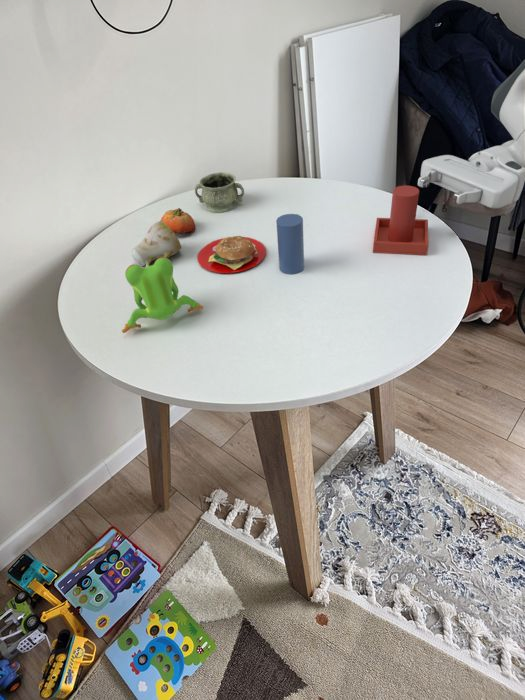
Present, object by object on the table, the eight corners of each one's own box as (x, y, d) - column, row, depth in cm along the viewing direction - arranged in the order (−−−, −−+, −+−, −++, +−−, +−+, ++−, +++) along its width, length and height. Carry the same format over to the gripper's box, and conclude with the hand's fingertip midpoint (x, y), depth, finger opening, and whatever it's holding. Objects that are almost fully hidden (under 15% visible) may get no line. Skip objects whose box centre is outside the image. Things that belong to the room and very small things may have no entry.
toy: (193, 291, 91) (183, 244, 84) (207, 318, 85) (197, 268, 78) (116, 314, 88) (100, 266, 81) (125, 343, 81) (108, 294, 75)
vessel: (248, 196, 119) (246, 171, 115) (242, 213, 113) (239, 187, 109) (201, 197, 121) (197, 172, 117) (192, 213, 115) (187, 188, 111)
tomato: (193, 233, 104) (168, 208, 102) (173, 253, 108) (148, 229, 106) (203, 221, 111) (179, 197, 109) (184, 240, 114) (161, 217, 112)
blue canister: (306, 261, 96) (305, 214, 89) (301, 275, 92) (300, 226, 85) (282, 260, 97) (279, 213, 90) (277, 273, 93) (273, 225, 87)
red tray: (426, 229, 101) (427, 219, 99) (426, 255, 94) (428, 244, 92) (376, 227, 103) (376, 217, 102) (372, 252, 96) (373, 242, 94)
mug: (125, 263, 101) (131, 214, 98) (170, 268, 106) (177, 222, 103) (135, 270, 95) (142, 218, 92) (182, 276, 100) (190, 227, 97)
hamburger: (279, 247, 100) (277, 220, 96) (239, 281, 92) (236, 254, 88) (224, 232, 107) (221, 207, 103) (183, 263, 98) (177, 237, 94)
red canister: (417, 238, 98) (424, 190, 91) (401, 247, 96) (407, 198, 89) (399, 230, 101) (404, 183, 94) (382, 238, 99) (387, 191, 92)
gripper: (451, 142, 105) (402, 159, 101) (534, 171, 92) (482, 192, 87) (446, 171, 110) (399, 188, 105) (524, 203, 96) (474, 224, 91)
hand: (437, 190), depth 96 cm, fingers open, 8 cm apart
